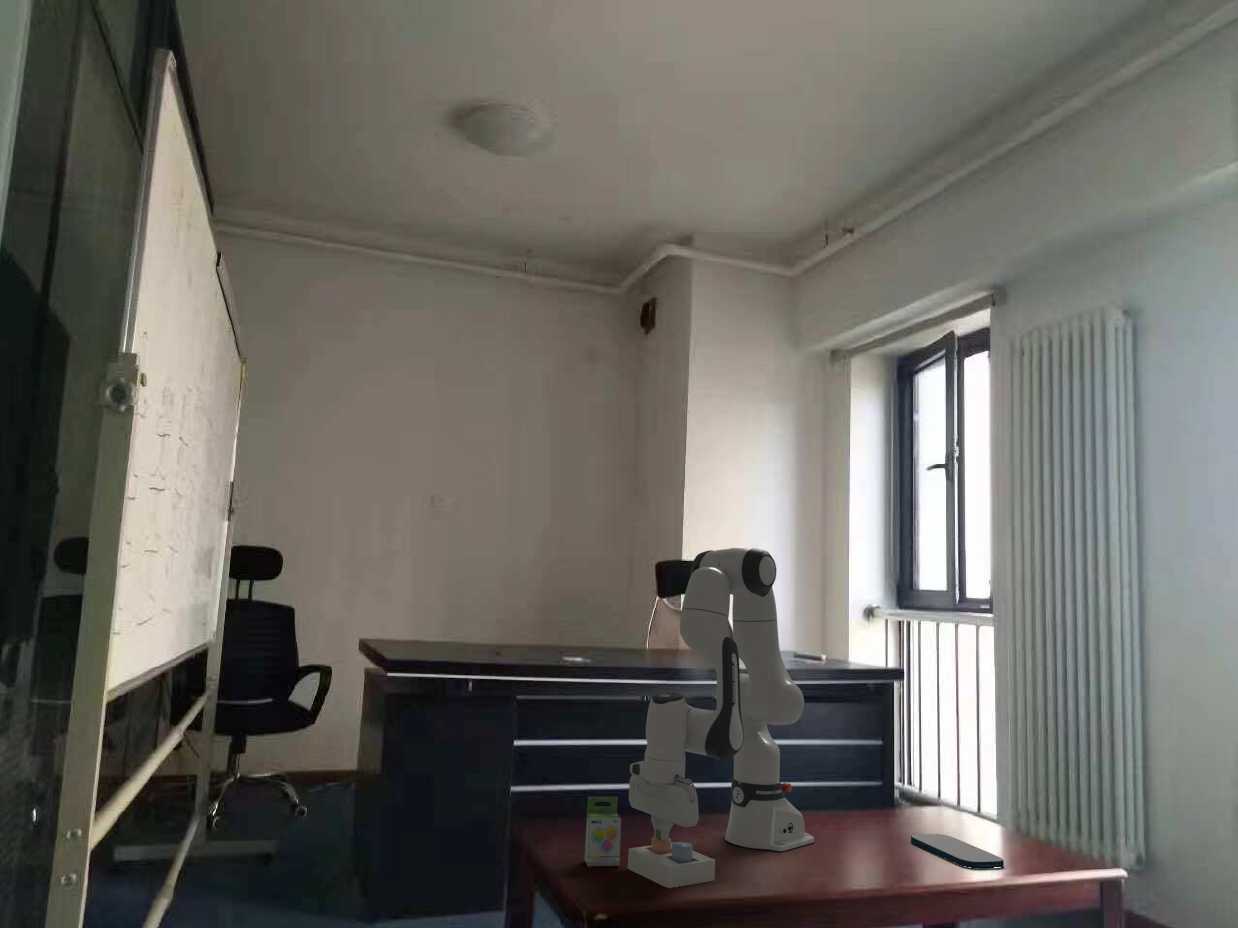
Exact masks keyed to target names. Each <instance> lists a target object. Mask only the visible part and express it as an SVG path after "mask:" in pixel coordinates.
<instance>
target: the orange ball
mask: <svg viewBox="0 0 1238 928" xmlns="http://www.w3.org/2000/svg"><path fill="white" fill-rule="evenodd" d="M671 843H673V842H672V838H671V837H669V839H668V840H667V841H662V840H660V839H658V838H655V837H651V845H650V846H651V851H652V852H654V853H657V854H666V853H671Z"/></svg>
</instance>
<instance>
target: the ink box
mask: <svg viewBox="0 0 1238 928" xmlns="http://www.w3.org/2000/svg"><path fill="white" fill-rule="evenodd" d="M618 799H619V798H618V796H587V805H586V806H587V809H586V824H585V825H586V827H585V828H586V829H585V840H584V859H583V860H584V863H585V864H586V866H587V867H619V866H620V863H621V862H620V860H621V859H620V857H621V856H620V855H621V838H622V837H621V836H622V835H621V833H622V832H621V831H622V818H621V817H620V815H619V814H618V801H619V800H618ZM600 802H606V803H609V804H610V805H607V806H604V805H603V806H601V805H599V806H598V805H595V804H596V803H597V804H598V803H600Z"/></svg>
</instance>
